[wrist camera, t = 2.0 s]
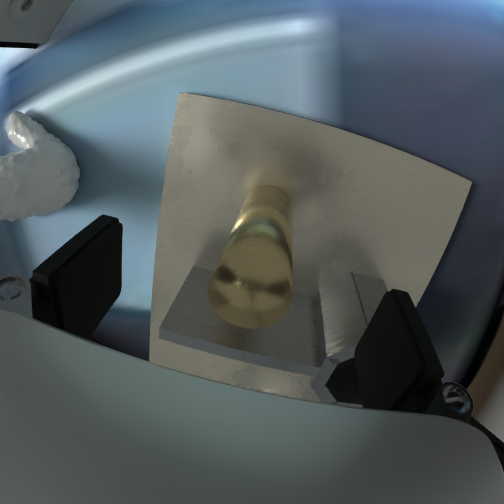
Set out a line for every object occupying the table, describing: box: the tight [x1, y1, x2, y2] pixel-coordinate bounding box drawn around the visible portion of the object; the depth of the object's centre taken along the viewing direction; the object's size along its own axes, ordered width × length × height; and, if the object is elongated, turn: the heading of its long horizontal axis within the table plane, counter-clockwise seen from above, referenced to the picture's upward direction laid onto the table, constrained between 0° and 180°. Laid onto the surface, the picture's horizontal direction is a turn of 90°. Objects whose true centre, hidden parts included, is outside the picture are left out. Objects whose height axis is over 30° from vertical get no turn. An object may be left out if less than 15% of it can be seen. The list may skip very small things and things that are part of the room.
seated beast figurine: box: [0, 111, 80, 221], centre depth 17 cm, size 10×9×12 cm
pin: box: [208, 185, 292, 329], centre depth 16 cm, size 3×3×10 cm
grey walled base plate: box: [149, 92, 472, 408], centre depth 21 cm, size 26×20×8 cm
